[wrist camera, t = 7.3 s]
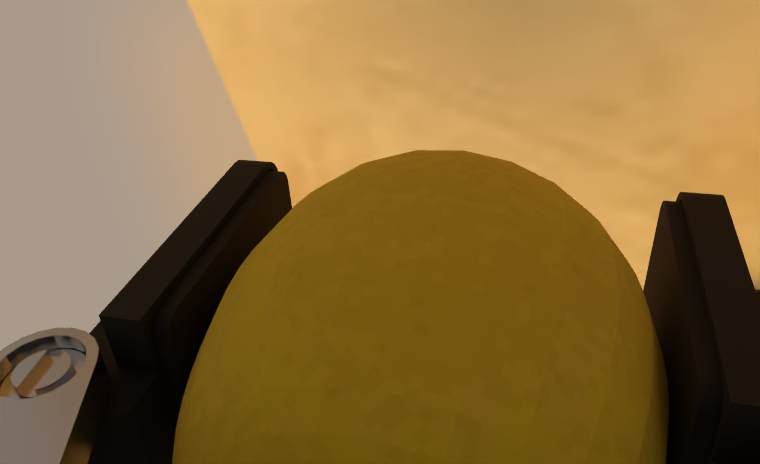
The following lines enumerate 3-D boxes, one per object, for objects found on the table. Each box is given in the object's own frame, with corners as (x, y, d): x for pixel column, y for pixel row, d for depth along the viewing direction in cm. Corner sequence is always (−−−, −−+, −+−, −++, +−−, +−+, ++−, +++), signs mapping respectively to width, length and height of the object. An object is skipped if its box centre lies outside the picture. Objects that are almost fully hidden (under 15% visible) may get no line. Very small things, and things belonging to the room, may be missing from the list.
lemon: (717, 150, 10) (952, 839, 4) (547, 380, 13) (509, 951, 7) (370, 6, 10) (-13, 422, 4) (287, 271, 13) (11, 731, 7)
